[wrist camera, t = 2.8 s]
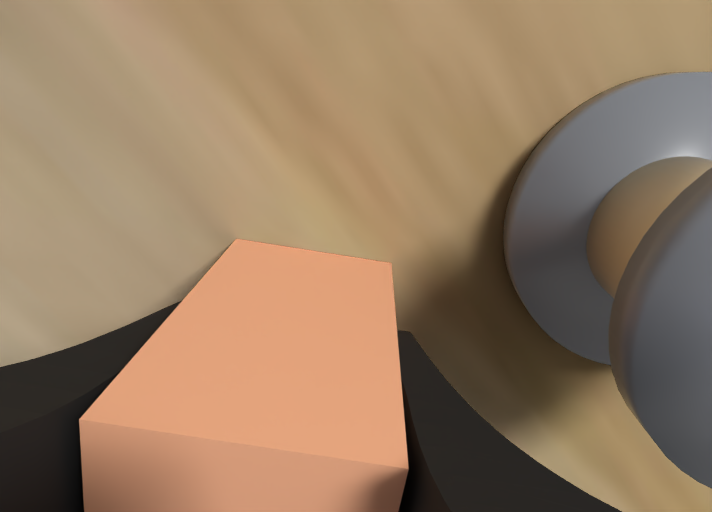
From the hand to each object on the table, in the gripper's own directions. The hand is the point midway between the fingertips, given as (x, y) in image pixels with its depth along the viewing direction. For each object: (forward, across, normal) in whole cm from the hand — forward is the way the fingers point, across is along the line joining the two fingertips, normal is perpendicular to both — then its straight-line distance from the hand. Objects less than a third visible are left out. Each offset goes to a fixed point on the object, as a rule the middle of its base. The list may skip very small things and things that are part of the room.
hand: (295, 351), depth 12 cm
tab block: (+2, 0, 0) cm, 2 cm away
